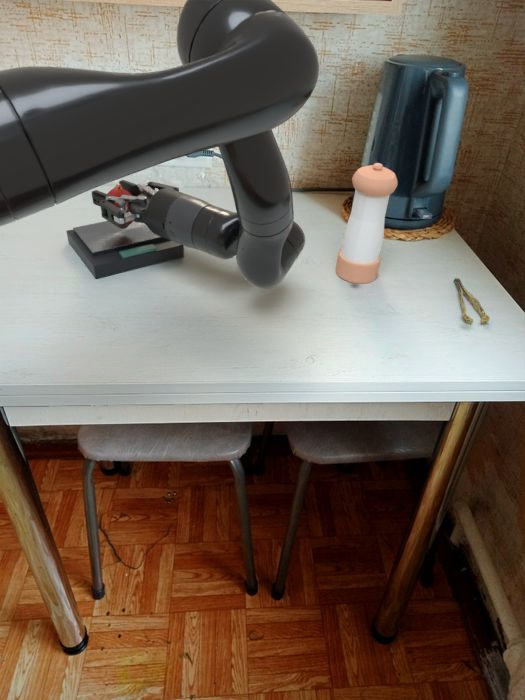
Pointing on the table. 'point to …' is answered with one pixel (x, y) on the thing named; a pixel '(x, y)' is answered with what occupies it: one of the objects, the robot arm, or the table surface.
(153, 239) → the scale
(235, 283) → the table surface
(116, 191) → the onion
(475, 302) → the tongs
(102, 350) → the table surface
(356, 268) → the pepper shaker
